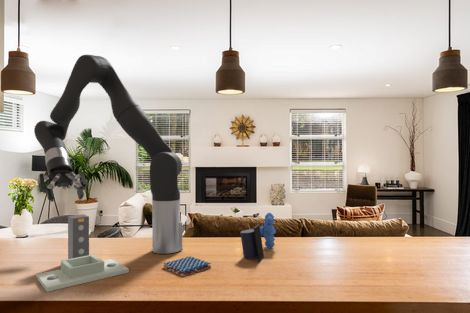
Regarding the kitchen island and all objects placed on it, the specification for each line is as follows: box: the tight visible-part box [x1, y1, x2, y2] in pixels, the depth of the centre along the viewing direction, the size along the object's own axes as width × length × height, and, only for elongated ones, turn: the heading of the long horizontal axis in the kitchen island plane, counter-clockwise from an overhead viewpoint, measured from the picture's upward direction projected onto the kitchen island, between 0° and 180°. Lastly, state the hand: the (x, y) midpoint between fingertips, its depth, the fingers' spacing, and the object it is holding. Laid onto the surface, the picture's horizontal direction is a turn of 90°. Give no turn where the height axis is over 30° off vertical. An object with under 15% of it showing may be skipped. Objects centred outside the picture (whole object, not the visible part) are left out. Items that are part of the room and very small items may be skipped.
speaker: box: [240, 224, 265, 263], centre depth 105 cm, size 8×6×10 cm
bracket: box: [36, 254, 130, 293], centre depth 90 cm, size 20×12×4 cm, turn 131°
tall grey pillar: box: [67, 214, 90, 259], centre depth 100 cm, size 4×5×14 cm
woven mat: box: [162, 255, 212, 277], centre depth 95 cm, size 10×11×2 cm
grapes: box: [259, 212, 277, 250], centre depth 116 cm, size 12×7×12 cm, turn 176°
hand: (67, 199), depth 109 cm, fingers open, 8 cm apart
